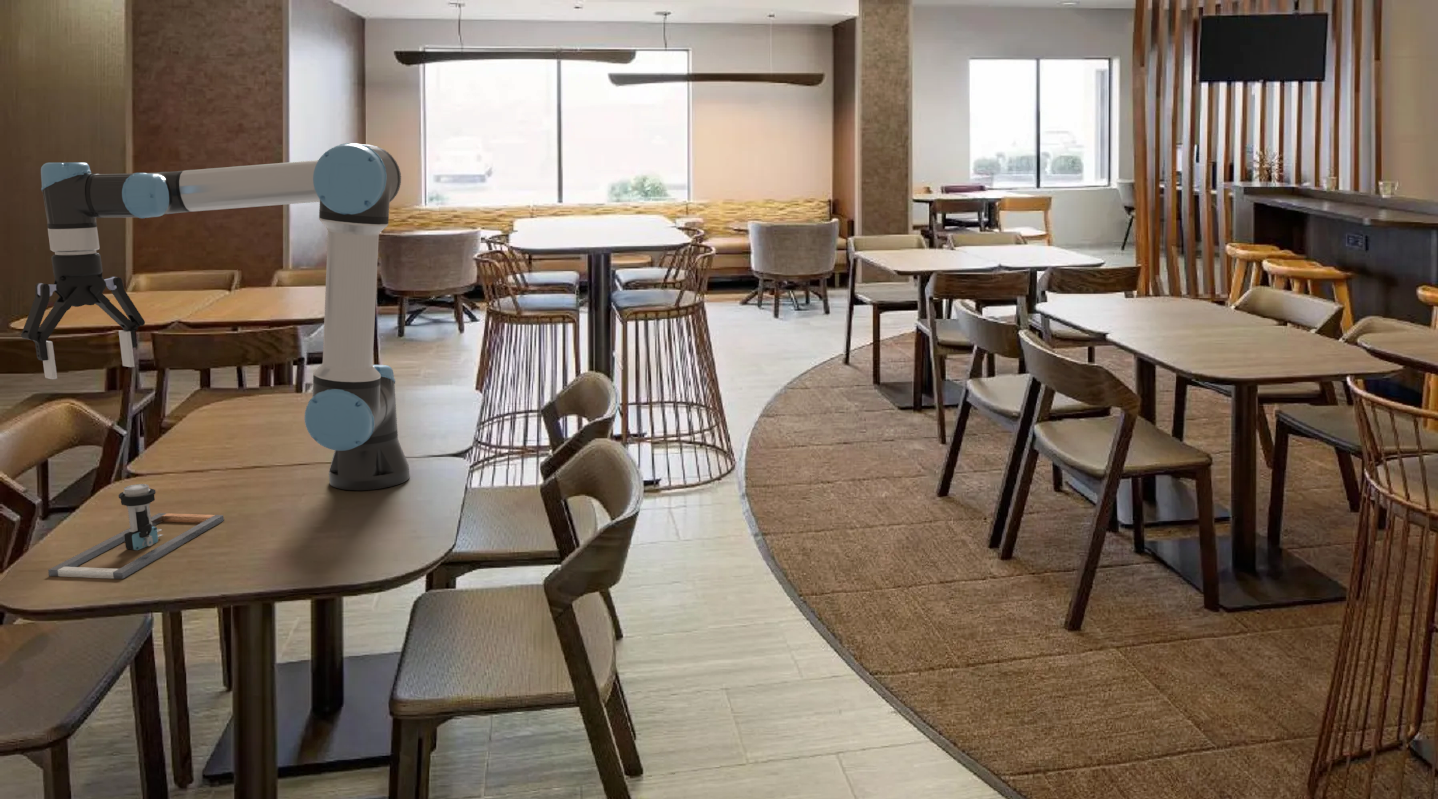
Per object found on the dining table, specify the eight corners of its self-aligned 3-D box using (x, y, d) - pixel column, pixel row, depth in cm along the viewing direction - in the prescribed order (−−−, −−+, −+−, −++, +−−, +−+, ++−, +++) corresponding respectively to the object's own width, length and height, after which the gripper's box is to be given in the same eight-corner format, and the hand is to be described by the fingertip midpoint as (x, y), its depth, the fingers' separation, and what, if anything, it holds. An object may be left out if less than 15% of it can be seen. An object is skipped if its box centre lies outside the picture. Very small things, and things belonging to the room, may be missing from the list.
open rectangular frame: (223, 520, 195) (223, 515, 195) (122, 578, 168) (122, 572, 168) (159, 518, 197) (159, 513, 197) (49, 575, 170) (48, 569, 169)
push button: (149, 536, 187) (142, 479, 185) (174, 539, 186) (168, 481, 184) (117, 549, 181) (110, 490, 179) (143, 552, 180) (136, 493, 177)
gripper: (134, 246, 207) (147, 359, 211) (-13, 257, 187) (5, 381, 191) (156, 248, 203) (169, 363, 207) (9, 258, 182) (27, 386, 187)
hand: (91, 372), depth 199 cm, fingers open, 13 cm apart
